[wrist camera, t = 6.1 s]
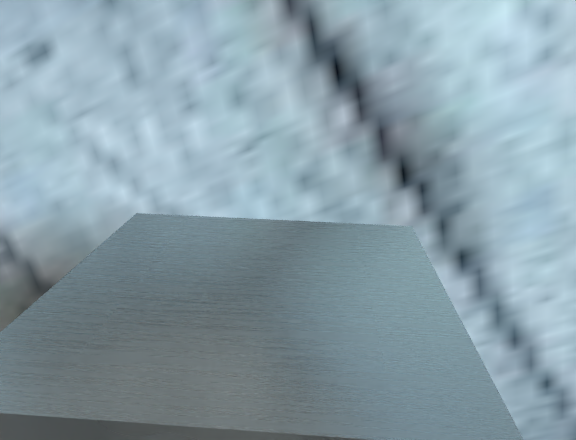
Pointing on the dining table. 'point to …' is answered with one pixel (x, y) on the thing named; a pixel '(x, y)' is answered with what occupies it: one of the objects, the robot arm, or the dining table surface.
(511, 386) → the dining table surface
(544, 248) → the dining table surface
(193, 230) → the light grey cube
